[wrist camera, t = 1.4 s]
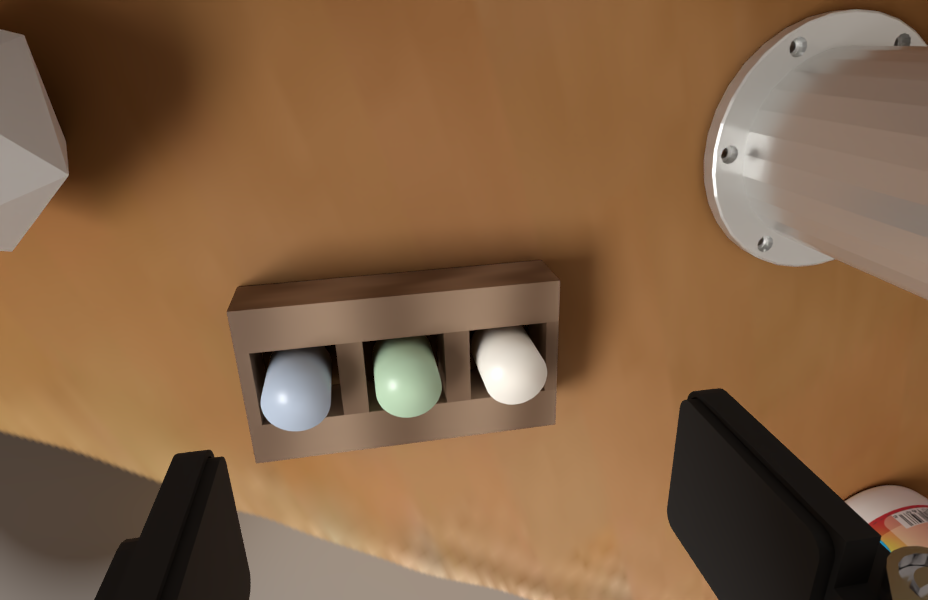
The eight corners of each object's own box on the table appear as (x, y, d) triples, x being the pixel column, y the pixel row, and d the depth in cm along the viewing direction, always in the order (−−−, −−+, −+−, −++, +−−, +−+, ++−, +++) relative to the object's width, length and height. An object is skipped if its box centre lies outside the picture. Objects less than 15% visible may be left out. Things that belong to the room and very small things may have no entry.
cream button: (527, 314, 32) (547, 344, 29) (526, 365, 33) (546, 400, 30) (469, 320, 31) (484, 351, 28) (471, 372, 32) (485, 407, 29)
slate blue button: (328, 334, 30) (326, 369, 27) (335, 387, 31) (334, 427, 28) (264, 340, 30) (255, 376, 27) (273, 394, 31) (266, 435, 28)
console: (541, 259, 32) (560, 280, 29) (538, 394, 35) (555, 424, 32) (237, 286, 30) (226, 311, 27) (263, 428, 33) (256, 463, 30)
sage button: (430, 324, 31) (440, 356, 28) (433, 376, 32) (442, 413, 29) (369, 330, 31) (372, 364, 27) (375, 383, 32) (378, 421, 29)
